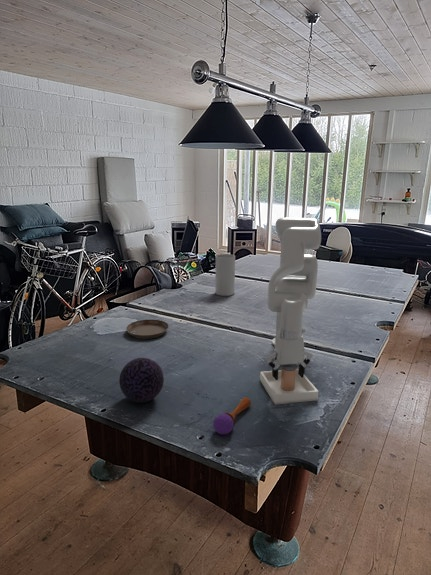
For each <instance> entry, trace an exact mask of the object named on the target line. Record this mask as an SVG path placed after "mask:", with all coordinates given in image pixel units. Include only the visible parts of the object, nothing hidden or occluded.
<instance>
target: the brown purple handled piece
mask: <svg viewBox="0 0 431 575" xmlns="http://www.w3.org/2000/svg"><path fill="white" fill-rule="evenodd" d="M251 405H252V401H251V398H249V397H246V396H245V397H243V398H242V399H241V400H240V402H239V403H238V405H237V406H235V409H234V410H233V412H225V413H220V414H218V415H217V416H216V417H214V420H213V429H214V430H215V432H217V433H218V434H219V435H221V436H222V435H228V434H229V433H231V432H232V430H233V428H234V424H235V420H236V419H235V418H236V417H235V416H237V415H238V414H240V413H241V412H243V411H245V410H246V409H247V408H249V407H250V406H251Z"/></svg>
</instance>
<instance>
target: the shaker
mask: <svg viewBox="0 0 431 575" xmlns="http://www.w3.org/2000/svg"><path fill="white" fill-rule="evenodd" d="M280 366H281V370H282V372H281V389H282V390H285V391H293V390H294V389H295V374H296V369H297V364H286V365H280Z"/></svg>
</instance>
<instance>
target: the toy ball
mask: <svg viewBox="0 0 431 575" xmlns="http://www.w3.org/2000/svg"><path fill="white" fill-rule="evenodd" d="M164 380H165V378H164V372H163V370H162V368H161V366H160V365H159V364H158V362H156V361H155V360H152V359H151V358H147V357H138V358H134V359H131V360H130V361H129V362H127V363H126V364H125V365H124V367H123V368H122V369H121V372H120V375H119V381H118V382H119V388H120V390H121V393H123V395H124V396H125V397H126V398H127V399H128V400H130V401H132V402H134V403H146V402H150V401H152V400H153V399H155V398H157V396H158V395H159V394H160V393H161V391H162V389H163V386H164Z"/></svg>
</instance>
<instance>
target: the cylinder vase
mask: <svg viewBox="0 0 431 575" xmlns="http://www.w3.org/2000/svg"><path fill="white" fill-rule="evenodd" d="M235 280H236V255H234V254H230V253H221V254H216V255H215V287H214V288H215V292H214V293H215V294H216V295H217V296H223V297H226V296H227V297H228V296H229V297H230V296H233V295H234V294H235V291H236V290H235V288H236V286H235V284H236V282H235Z"/></svg>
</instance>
